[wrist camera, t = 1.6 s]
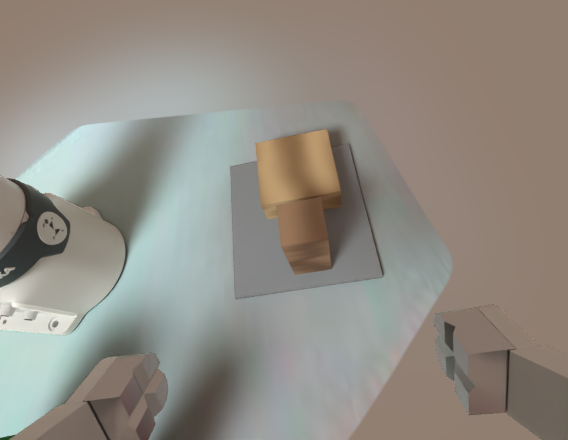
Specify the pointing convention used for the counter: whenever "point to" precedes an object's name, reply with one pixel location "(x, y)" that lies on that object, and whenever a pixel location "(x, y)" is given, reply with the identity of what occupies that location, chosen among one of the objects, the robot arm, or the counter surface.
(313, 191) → the oak base block
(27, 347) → the counter surface
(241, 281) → the grey mat
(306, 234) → the walnut column
